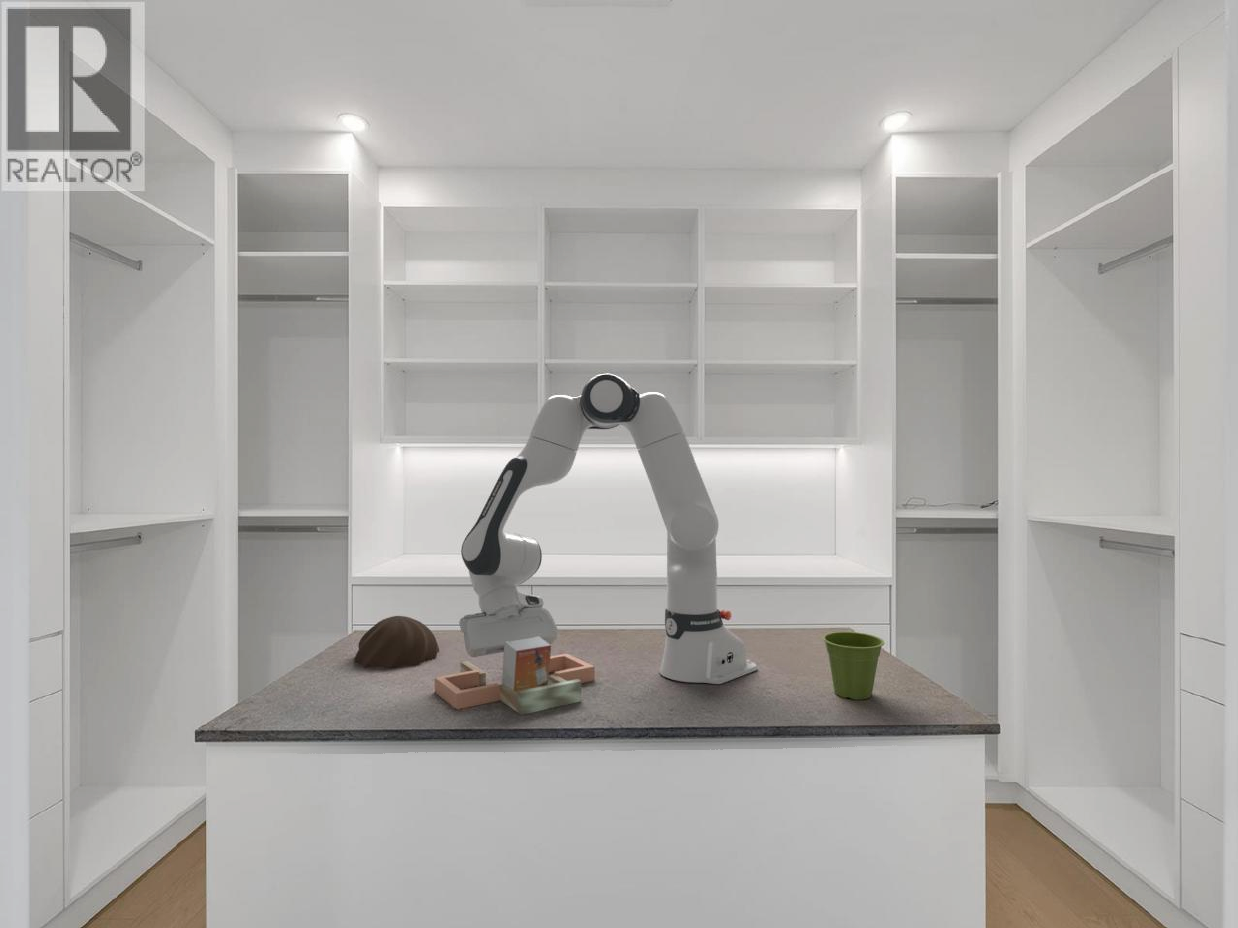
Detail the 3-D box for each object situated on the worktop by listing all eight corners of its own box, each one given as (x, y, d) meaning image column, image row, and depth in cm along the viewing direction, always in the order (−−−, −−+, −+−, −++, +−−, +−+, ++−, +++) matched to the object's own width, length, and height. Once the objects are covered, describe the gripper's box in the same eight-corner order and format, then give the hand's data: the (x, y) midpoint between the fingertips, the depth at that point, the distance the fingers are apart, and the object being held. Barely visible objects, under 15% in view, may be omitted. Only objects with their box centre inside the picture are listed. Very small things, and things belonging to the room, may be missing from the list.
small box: (512, 702, 137) (515, 650, 136) (500, 690, 142) (503, 640, 140) (548, 694, 141) (551, 644, 140) (536, 683, 146) (539, 635, 145)
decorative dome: (336, 661, 166) (336, 619, 166) (403, 642, 182) (403, 604, 182) (391, 674, 155) (390, 629, 155) (456, 653, 172) (456, 612, 172)
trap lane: (513, 663, 163) (513, 646, 163) (581, 701, 138) (581, 680, 138) (460, 673, 156) (460, 655, 156) (521, 714, 130) (521, 693, 130)
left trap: (476, 683, 148) (476, 669, 148) (500, 700, 138) (500, 685, 138) (434, 691, 143) (434, 677, 143) (456, 709, 133) (456, 693, 133)
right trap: (566, 666, 161) (566, 653, 160) (594, 680, 151) (594, 666, 151) (531, 673, 155) (531, 659, 155) (557, 687, 146) (557, 673, 146)
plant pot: (810, 692, 143) (810, 637, 143) (845, 681, 150) (845, 628, 150) (861, 709, 133) (862, 650, 133) (896, 696, 141) (896, 640, 140)
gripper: (461, 607, 145) (479, 666, 137) (548, 596, 156) (570, 650, 148) (453, 624, 148) (470, 683, 140) (539, 612, 160) (560, 666, 152)
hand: (522, 666), depth 144 cm, fingers closed
